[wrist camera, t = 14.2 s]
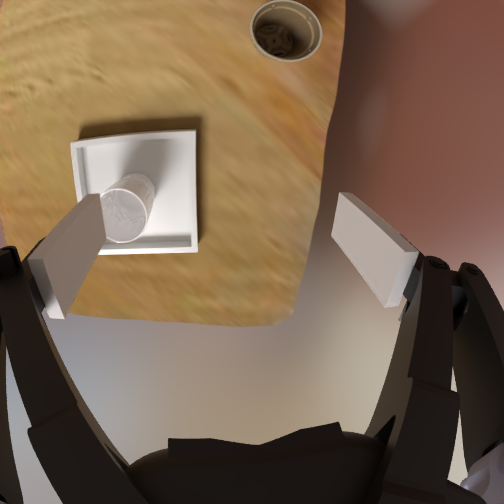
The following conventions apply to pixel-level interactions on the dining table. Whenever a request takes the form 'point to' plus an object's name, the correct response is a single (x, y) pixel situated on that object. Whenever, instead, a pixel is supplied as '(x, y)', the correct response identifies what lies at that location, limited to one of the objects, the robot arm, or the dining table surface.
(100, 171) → the tray
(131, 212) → the white cup
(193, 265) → the dining table surface
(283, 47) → the flower pot
